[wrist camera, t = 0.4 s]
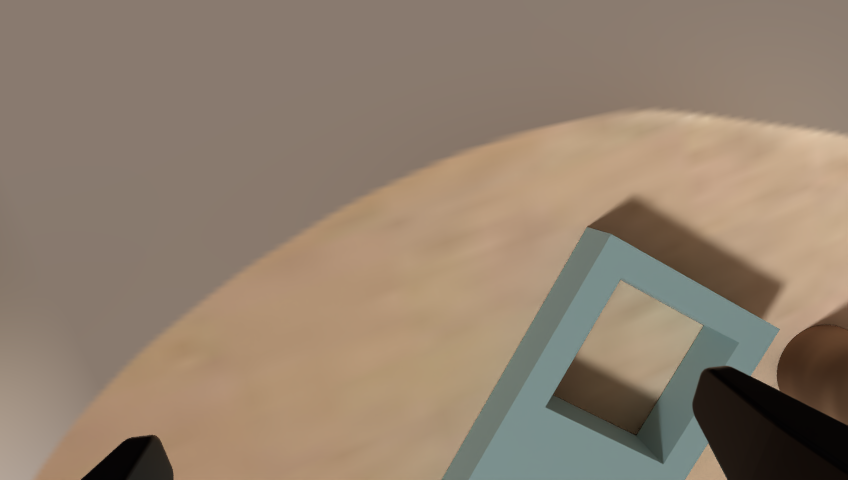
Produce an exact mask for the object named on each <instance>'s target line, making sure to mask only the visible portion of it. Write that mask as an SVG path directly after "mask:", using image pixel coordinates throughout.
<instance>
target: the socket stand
mask: <svg viewBox="0 0 848 480" xmlns="http://www.w3.org/2000/svg"><path fill="white" fill-rule="evenodd" d="M620 280H622V281H624V282H626V283H627V284H629V285H631V286H633V287H635V288H636V289H638V290H640V291H642V292H644V293H646V294H647V295H649V296H651V297H653V298H655V299H657V300H658V301H660V302H662V303H664V304H666V305H667V306H669V307H671V308H673V309H675V310H677V311H678V312H680V313H682V314H684V315H686V316H688V317H689V318H691V319H693V320H695V321H697V322H698V323H700V324H702V325H704V326H703V328H702V330H701V331H700V333H699V334H698V336H697V338H696V339H695V341H694V343H693V344H692V346H691V347H690V349H689V351H688V352H687V354H686V356H685V357H684V359H683V361H682V362H681V364H680V365H679V367H678V369H677V370H676V372H675V374H674V375H673V377H672V378H671V380H670V382H669V383H668V385H667V387H666V388H665V390H664V391H663V393H662V395H661V396H660V398H659V400H658V401H657V403H656V405H655V406H654V408H653V409H652V411H651V413H650V414H649V416H648V418H647V419H646V421H645V422H644V424H643V426H642V427H641V429H640V431H639V432H638V434H637V436H636V435H634V434H632V433H629V432H627V431H625V430H623V429H621V428H619V427H617V426H615V425H613V424H611V423H609V422H607V421H605V420H603V419H601V418H599V417H597V416H595V415H593V414H590V413H588V412H586V411H584V410H582V409H580V408H578V407H576V406H574V405H572V404H570V403H568V402H566V401H564V400H562V399H560V398H558V397H556V396H554V395H553V393H554V391H555V390H556V388H557V386H558V385H559V383H560V381H561V379H562V378H563V376H564V374H565V373H566V371H567V369H568V368H569V366H570V364H571V363H572V361H573V359H574V357H575V356H576V354H577V352H578V351H579V349H580V347H581V346H582V344H583V342H584V340H585V339H586V337H587V335H588V334H589V332H590V330H591V329H592V327H593V325H594V323H595V322H596V320H597V318H598V317H599V315H600V313H601V312H602V310H603V308H604V306H605V305H606V303H607V301H608V300H609V298H610V296H611V295H612V293H613V291H614V290H615V288H616V286H617V284H618V283H619V281H620ZM779 330H780V329H778V328H777V327H775V326H773V325H771V324H770V323H768V322H766V321H764V320H762V319H761V318H759V317H757V316H755V315H754V314H752V313H750V312H748V311H747V310H745V309H743V308H741V307H739V306H738V305H736V304H734V303H732V302H731V301H729V300H727V299H725V298H724V297H722V296H720V295H718V294H716V293H715V292H713V291H711V290H709V289H708V288H706V287H704V286H702V285H701V284H699V283H697V282H695V281H693V280H692V279H690V278H688V277H686V276H685V275H683V274H681V273H679V272H678V271H676V270H674V269H672V268H670V267H669V266H667V265H665V264H663V263H662V262H660V261H658V260H656V259H654V258H653V257H651V256H649V255H647V254H646V253H644V252H642V251H640V250H639V249H637V248H635V247H633V246H631V245H630V244H628V243H626V242H624V241H623V240H621V239H619V238H617V237H616V236H614V235H612V234H609V233H606V232H602V231H599V230H596V229H592V228H589V227H587V228H586V230H585V232H584V233H583V235H582V237H581V239H580V240H579V242H578V244H577V245H576V247H575V249H574V251H573V252H572V254H571V256H570V258H569V259H568V261H567V263H566V265H565V266H564V268H563V270H562V272H561V273H560V275H559V277H558V279H557V280H556V282H555V284H554V285H553V287H552V289H551V291H550V292H549V294H548V296H547V298H546V299H545V301H544V303H543V305H542V306H541V308H540V310H539V312H538V313H537V315H536V317H535V318H534V320H533V322H532V324H531V325H530V327H529V329H528V331H527V332H526V334H525V336H524V338H523V339H522V341H521V343H520V345H519V346H518V348H517V350H516V352H515V353H514V355H513V357H512V358H511V360H510V362H509V364H508V365H507V367H506V369H505V371H504V372H503V374H502V376H501V378H500V379H499V381H498V383H497V385H496V386H495V388H494V390H493V392H492V393H491V395H490V397H489V398H488V400H487V402H486V404H485V405H484V407H483V409H482V411H481V412H480V414H479V416H478V418H477V419H476V421H475V423H474V425H473V426H472V428H471V430H470V432H469V433H468V435H467V437H466V438H465V440H464V442H463V444H462V445H461V447H460V449H459V451H458V452H457V454H456V456H455V458H454V459H453V461H452V463H451V465H450V466H449V468H448V470H447V472H446V473H445V475H444V477H443V478H442V480H685V479H686V477H687V476H688V474H689V472H690V471H691V469H692V468H693V466H694V465H695V463H696V461H697V460H698V458H699V457H700V455H701V453H702V452H703V450H704V449H705V447H706V446H707V444H708V441H707V439H706V437H705V436H704V434H703V432H702V430H701V428H700V426H699V424H698V422H697V420H696V418H695V416H694V413H693V409H692V401H693V397H694V394H695V391H696V387H697V384H698V381H699V377H700V374H701V372H702V371H703V370H704V369H705V368H709V367H717V366H730V367H733V368H735V369H737V370H739V371H741V372H743V373H745V374H747V375H749V376H751V374H752V373H753V371H754V369H755V368H756V366H757V365H758V363H759V362H760V360H761V358H762V357H763V355H764V354H765V352H766V350H767V349H768V347H769V346H770V344H771V343H772V341H773V339H774V338H775V336H776V335H777V333H778V331H779Z"/></svg>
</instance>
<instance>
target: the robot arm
mask: <svg viewBox="0 0 848 480" xmlns="http://www.w3.org/2000/svg"><path fill="white" fill-rule="evenodd" d="M692 409H693V413H694V416H695V418H696V420H697V422H698V424H699V426H700V428H701V430H702V432H703V434H704V436H705V437H706V439H707V441H708V443H709V445H710V447H711V449H712V451H713V453H714V455H715V457H716V459H717V460H718V462H719V464H720V466H721V468H722V470H723V472H724V474H725V476H726V478H727V480H848V425H846V424H844V423H842V422H840V421H838V420H836V419H834V418H832V417H830V416H828V415H826V414H825V413H823V412H821V411H819V410H817V409H815V408H813V407H811V406H809V405H807V404H805V403H803V402H801V401H799V400H797V399H795V398H793V397H791V396H789V395H787V394H785V393H783V392H781V391H779V390H777V389H775V388H773V387H771V386H769V385H767V384H765V383H763V382H761V381H759V380H757V379H755V378H753V377H751V376H749V375H747V374H745V373H743V372H741V371H739V370H737V369H735V368H733V367H730V366H717V367H709V368H705V369H704V370H703V371H702V372H701V374H700V377H699V381H698V384H697V387H696V391H695V394H694V397H693V401H692ZM81 480H173V469H172V466H171V464H170V462H169V459H168V457H167V455H166V452H165V450H164V448H163V445H162V443H161V441H160V439H159V438H158V437H157V436H155V435H147V436H139V437H131V438H128V439H126V440H125V441H123V442H122V443H121V444H120V445H119V446H118V447H117V448H115V449H114V450H113V451H112V452H111V453H110V454H109V455H108V456H107V457H105V458H104V459H103V460H102V461H101V462H100V463H99V464H98V465H97V466H96V467H94V468H93V469H92V470H91V471H90V472H89V473H88V474H87V475H86V476H84V477H83V478H82V479H81Z"/></svg>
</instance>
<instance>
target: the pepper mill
mask: <svg viewBox="0 0 848 480" xmlns="http://www.w3.org/2000/svg"><path fill="white" fill-rule="evenodd" d="M777 382H778V386H779V389H780V391H781V392H783V393H785V394H787V395H789V396H791V397H793V398H795V399H797V400H799V401H801V402H803V403H805V404H807V405H809V406H811V407H813V408H815V409H817V410H819V411H821V412H823V413H825V414H826V415H828V416H830V417H832V418H834V419H836V420H838V421H840V422H842V423H844V424H846V425H848V330H846V329H844V328H841V327H838V326H834V325H818V326H814V327H811V328H808V329H806V330H804V331H803V332H801V333H800V334H798V335H797V336H796V337H795V338H793V339H792V340H791V342H790V343H789V344H788V345H787V347H786V348H785V349H784V351H783V353H782V355H781V357H780V360H779V363H778V368H777Z"/></svg>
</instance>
